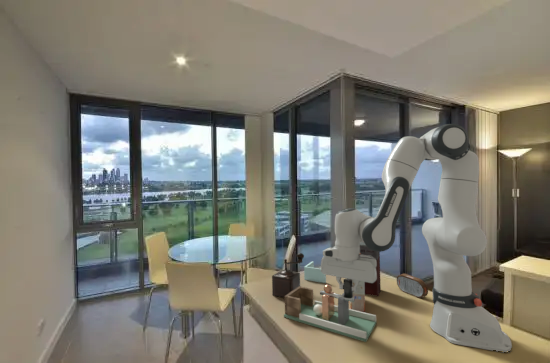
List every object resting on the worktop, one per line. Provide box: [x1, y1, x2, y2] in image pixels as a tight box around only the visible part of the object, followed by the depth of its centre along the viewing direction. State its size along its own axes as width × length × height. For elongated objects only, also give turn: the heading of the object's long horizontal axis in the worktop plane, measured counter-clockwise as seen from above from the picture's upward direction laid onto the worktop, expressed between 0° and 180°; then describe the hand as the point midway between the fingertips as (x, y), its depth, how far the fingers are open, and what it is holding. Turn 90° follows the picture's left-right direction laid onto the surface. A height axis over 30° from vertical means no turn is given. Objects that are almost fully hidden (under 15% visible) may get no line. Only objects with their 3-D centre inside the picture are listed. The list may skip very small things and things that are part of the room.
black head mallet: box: [319, 278, 354, 320], centre depth 102 cm, size 13×6×15 cm, turn 56°
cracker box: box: [349, 253, 366, 313], centre depth 116 cm, size 14×6×21 cm, turn 168°
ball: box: [313, 304, 322, 315], centre depth 106 cm, size 4×4×4 cm
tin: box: [396, 273, 429, 299], centre depth 126 cm, size 15×3×8 cm, turn 25°
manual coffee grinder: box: [271, 252, 305, 299], centre depth 132 cm, size 16×11×18 cm
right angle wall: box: [303, 261, 327, 284], centre depth 150 cm, size 12×12×8 cm
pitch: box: [283, 292, 377, 343], centre depth 103 cm, size 32×14×10 cm, turn 56°
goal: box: [284, 285, 314, 318], centre depth 110 cm, size 7×12×7 cm, turn 146°
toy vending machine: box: [360, 242, 382, 297], centre depth 131 cm, size 9×11×28 cm
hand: (348, 289), depth 99 cm, fingers closed on black head mallet, 3 cm apart
